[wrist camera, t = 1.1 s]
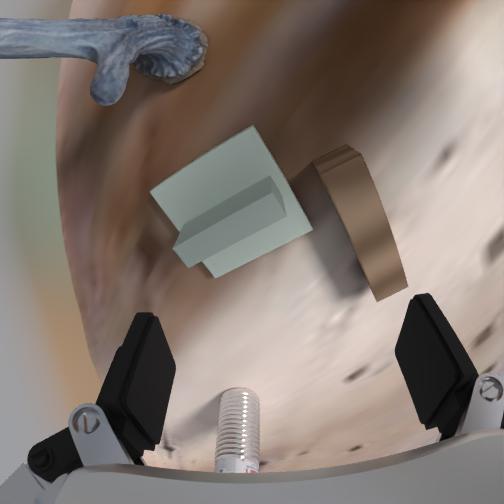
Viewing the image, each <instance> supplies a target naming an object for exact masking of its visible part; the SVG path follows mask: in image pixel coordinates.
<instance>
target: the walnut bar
mask: <svg viewBox="0 0 504 504" xmlns="http://www.w3.org/2000/svg"><path fill="white" fill-rule="evenodd" d="M312 163H313V165H314V167H315V169H316V171H317V173H318V175H319V177H320V179H321V181H322V183H323V185H324V187H325V189H326V191H327V193H328V195H329V197H330V199H331V201H332V203H333V205H334V208H335V210H336V212H337V214H338V216H339V218H340V220H341V222H342V225H343V227H344V229H345V231H346V233H347V236H348V238H349V240H350V242H351V245H352V247H353V249H354V252H355V254H356V256H357V258H358V261H359V263H360V266H361V268H362V270H363V273H364V275H365V278H366V280H367V282H368V284H369V286H370V288H371V290H372V292H373V295H374V297H375V299H376V301H377V302H378V301H380V300H383V299H385V298H387V297H389V296H391V295H393V294H395V293H397V292H399V291H401V290H403V289H405V288H407V287H408V284H407V280H406V276H405V273H404V269H403V266H402V263H401V259H400V256H399V253H398V250H397V246H396V243H395V240H394V237H393V234H392V231H391V228H390V225H389V222H388V220H387V217H386V214H385V211H384V208H383V206H382V203H381V200H380V198H379V195H378V193H377V190H376V187H375V185H374V182H373V180H372V177H371V175H370V173H369V170H368V168H367V165H366V163H365V161H364V158H363V156H362V154H360V153H359V152H357V151H356V150H354V149H353V148H352V147H350V146H349V145H347V144H346V145H344V146H342V147H340V148H338V149H336V150H334V151H332V152H330V153H328V154H326V155H324V156H322V157H320V158H318V159H316V160H314V161H312Z"/></svg>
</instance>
